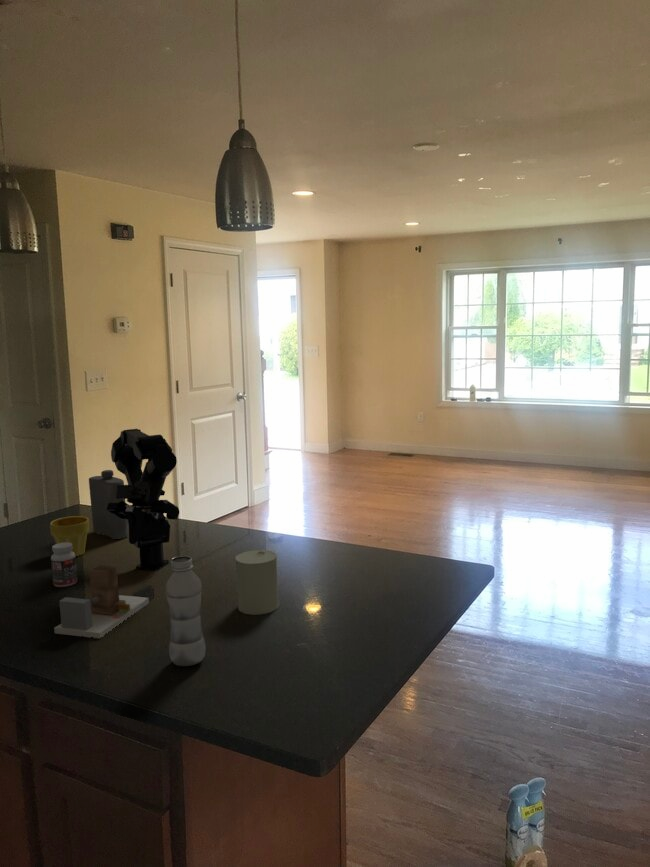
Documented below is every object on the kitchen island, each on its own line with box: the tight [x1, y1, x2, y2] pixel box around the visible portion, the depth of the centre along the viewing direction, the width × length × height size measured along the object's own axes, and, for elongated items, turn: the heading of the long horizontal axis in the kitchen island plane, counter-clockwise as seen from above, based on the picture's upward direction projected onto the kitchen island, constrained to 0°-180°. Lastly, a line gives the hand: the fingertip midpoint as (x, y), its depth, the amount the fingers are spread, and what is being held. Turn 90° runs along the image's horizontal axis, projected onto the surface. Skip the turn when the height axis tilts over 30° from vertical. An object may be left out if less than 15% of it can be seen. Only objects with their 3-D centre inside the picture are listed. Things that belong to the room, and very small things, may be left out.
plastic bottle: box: [164, 555, 207, 667], centre depth 125 cm, size 6×7×20 cm
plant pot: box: [49, 515, 90, 557], centre depth 191 cm, size 10×10×10 cm
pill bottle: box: [50, 542, 78, 588], centre depth 168 cm, size 6×6×10 cm
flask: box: [88, 469, 129, 540], centre depth 208 cm, size 15×6×20 cm, turn 49°
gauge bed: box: [53, 594, 150, 639], centre depth 147 cm, size 18×11×7 cm, turn 163°
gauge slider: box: [89, 564, 130, 615], centre depth 147 cm, size 7×9×9 cm
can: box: [234, 549, 280, 616], centre depth 150 cm, size 9×9×12 cm
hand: (131, 543), depth 159 cm, fingers closed
